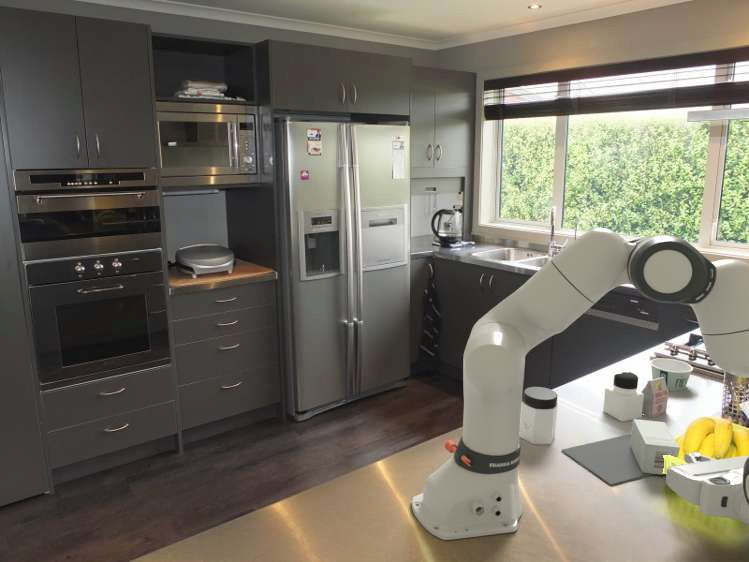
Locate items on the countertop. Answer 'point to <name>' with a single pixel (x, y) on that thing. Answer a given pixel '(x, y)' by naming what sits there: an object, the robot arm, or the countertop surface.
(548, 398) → the jar
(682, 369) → the food container
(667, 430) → the supplement box
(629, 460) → the mat
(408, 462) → the countertop surface
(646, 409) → the juice carton
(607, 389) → the medicine bottle
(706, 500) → the robot arm
